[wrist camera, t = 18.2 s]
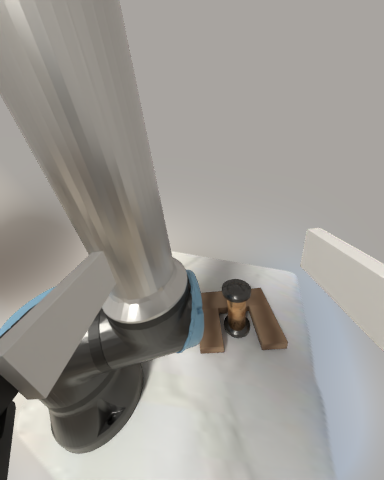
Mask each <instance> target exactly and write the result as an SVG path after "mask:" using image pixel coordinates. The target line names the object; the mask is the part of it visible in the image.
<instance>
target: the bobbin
mask: <svg viewBox="0 0 384 480" xmlns="http://www.w3.org/2000/svg"><path fill="white" fill-rule="evenodd" d="M222 294H223V296H224V298H225V299H227V307H228V315H227V316H226V318H225V320H224V327H225V330H226V332H227V333H228V334H229V335H231V336H232V337H236V338H242V337H245V336H246V335H247V334H248V333H249V330H250V323H249V320H248V319H247V318H246V301H247V300H248V299H249V298H250V296H251V287H250V286H249V284H248V283H246V282H245V281H243V280H239V279H232V280H228V281H226V282H225V283H224V284H223V285H222Z"/></svg>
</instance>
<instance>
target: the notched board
mask: <svg viewBox="0 0 384 480" xmlns="http://www.w3.org/2000/svg"><path fill="white" fill-rule="evenodd" d="M201 297H202V310H203V313H204V333H203V337H202V340H201V341H200V352H201V354H202V353H219V352H224V345H223V338H222V332H221V325H220V319H219V313H228V307H227V299H225V298H224V296H223V294H222V291H218V292H206V293H201ZM246 311H249V313H250V316H251V319H252V322H253V325H254V328H255V331H256V333H257V336H258V339H259V342H260V345H261V348H262V350H269V349H286V348H287V344H288V342H287V340H286V338H285V336H284V334H283V332H282V330H281V328H280V326H279V324H278V322H277V320H276V318H275V316H274V314H273V312H272V310H271V308H270V306H269V304H268V302H267V300H266V298H265V296H264V294H263V292H262V290H261V288H254V289H251V296H250V298H249V299H248V300H247V301H246Z"/></svg>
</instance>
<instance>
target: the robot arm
mask: <svg viewBox="0 0 384 480" xmlns="http://www.w3.org/2000/svg"><path fill="white" fill-rule="evenodd" d="M0 95H1V96H2V98H3V100H4V102H5V104H6V106H7V107H8V109H9V111H10V113H11V115H12V116H13V118H14V120H15V122H16V124H17V125H18V127H19V129H20V131H21V133H22V135H23V136H24V138H25V140H26V142H27V143H28V145H29V147H30V149H31V151H32V153H33V154H34V156H35V158H36V160H37V162H38V163H39V165H40V167H41V169H42V170H43V172H44V174H45V176H46V178H47V180H48V182H49V183H50V185H51V187H52V189H53V190H54V192H55V194H56V196H57V198H58V199H59V201H60V203H61V205H62V207H63V209H64V210H65V212H66V214H67V216H68V218H69V219H70V221H71V223H72V225H73V227H74V228H75V230H76V232H77V234H78V236H79V237H80V239H81V241H82V243H83V245H84V246H85V248H86V250H87V252H88V254H89V256H88V257H87V258H86V259H85V260H84V261H82V262H81V263H80V264H79V265H78V266H77V267H76V268H75V269H74V270H73V271H72V272H71V273H70V274H69V275H68V276H67V277H66V278H64V279H63V280H62V281H61V282H60V283H59V284H58V285H57V286H55V287H53V288H51V289H49V290H47V291H45V292H43V293H42V294H40V295H38V296H37V297H35V298H34V299H32V300H31V301H29V302H28V303H27V304H25V305H24V306H23V307H21V308H20V309H19V310H18V311H17V312H16V313H14V314H13V315H12V316H11V317H10V318H9V319H8V320H7V322H6V323H5V324H4V325H3V326H2V328H1V329H0V480H7V475H8V468H9V459H10V451H11V443H12V435H13V426H14V418H15V410H16V407H15V403H14V402H13V401H12V400H13V398H14V397H15V396H16V395H17V393H18V392H19V393H21V394H22V395H23V396H24V397H25V398H26V399H27V400H28V399H39V400H40V401H41V402H42V403H43V404H44V405H46V406H47V407H48V408H49V414H50V419H51V430H52V434H53V436H54V438H55V440H56V441H57V443H58V444H59V445H61V446H62V447H63V448H64V449H66V450H67V451H69V452H72V453H78V454H80V453H87V452H90V451H93V450H95V449H97V448H99V447H101V446H102V445H104V444H105V443H107V442H108V441H109V440H110V439H112V438H113V437H114V436H115V435H116V434H117V433H118V432H119V431H120V430H121V428H122V427H123V426H124V425H125V423H126V422H127V421H128V419H129V418H130V416H131V414H132V413H133V411H134V409H135V407H136V405H137V403H138V400H139V397H140V394H141V390H142V385H143V371H142V367H141V364H140V363H141V362H145V361H148V360H152V359H155V358H158V357H162V356H165V355H169V354H172V353H181V352H183V351H184V350H186V349H188V348H191V347H194V346H196V345H197V344H199V343H200V341H201V340H202V337H203V333H204V313H203V310H202V297H201V292H200V288H199V284H198V281H197V279H196V276H195V274H194V273H193V272H192V271H191V270H185V268H184V266H183V265H182V263H181V262H179V261H178V260H177V259H175V258H173V257H172V253H171V248H170V244H169V239H168V234H167V230H166V225H165V220H164V215H163V210H162V205H161V200H160V196H159V191H158V186H157V181H156V176H155V171H154V166H153V161H152V157H151V152H150V147H149V143H148V137H147V132H146V128H145V123H144V118H143V113H142V109H141V103H140V99H139V94H138V89H137V84H136V79H135V74H134V69H133V65H132V60H131V55H130V50H129V45H128V40H127V35H126V31H125V26H124V21H123V16H122V12H121V7H120V2H119V0H0ZM300 266H301V267H302V268H303V269H304V270H305V271H306V272H307V274H308V275H309V276H310V277H311V278H312V279H313V280H314V281H315V282H316V283H317V284H318V285H319V286H320V287H321V288H322V289H323V290H324V291H325V292H326V293H327V294H328V295H329V296H330V297H331V298H332V299H333V300H334V301H335V302H336V303H337V304H338V305H339V306H340V307H341V308H342V310H343V311H344V312H346V314H348V316H349V317H350V318H351V319H352V320H353V321H354V322H355V323H356V324H357V325H358V326H359V327H360V328H361V329H362V330H363V331H364V332H365V333H366V334H367V335H368V336H369V337H370V338H371V339H372V340H373V341H374V342H375V343H376V344H377V345H378V347H379V348H380V349H381V350H382V351H383V352H384V264H383V263H381V262H380V261H378V260H376V259H374V258H372V257H371V256H369V255H367V254H365V253H364V252H362V251H360V250H358V249H357V248H355V247H353V246H351V245H349V244H348V243H346V242H344V241H342V240H340V239H339V238H337V237H335V236H333V235H332V234H330V233H328V232H326V231H325V230H323V229H321V228H314V229H307V232H306V238H305V243H304V248H303V254H302V259H301V264H300Z"/></svg>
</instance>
